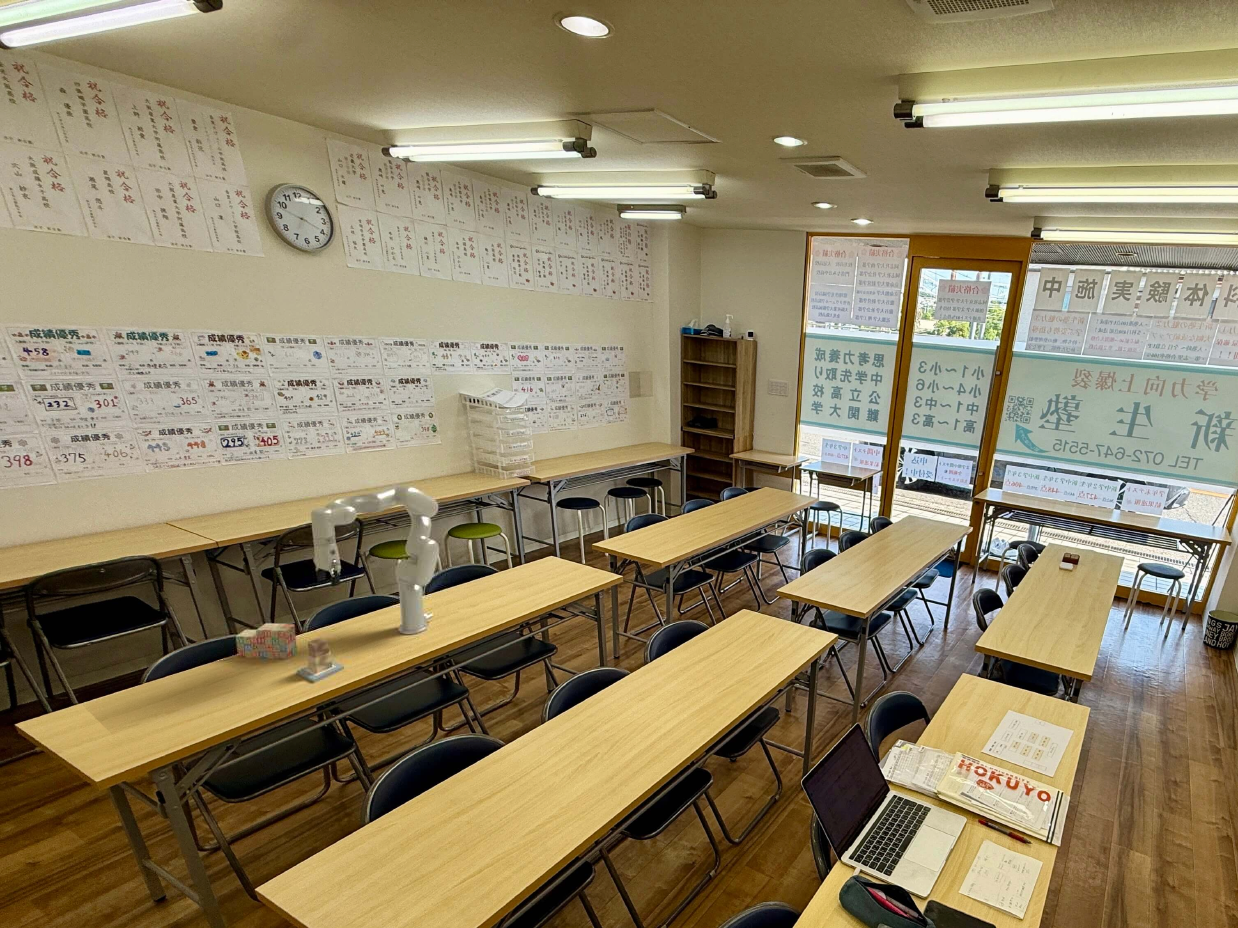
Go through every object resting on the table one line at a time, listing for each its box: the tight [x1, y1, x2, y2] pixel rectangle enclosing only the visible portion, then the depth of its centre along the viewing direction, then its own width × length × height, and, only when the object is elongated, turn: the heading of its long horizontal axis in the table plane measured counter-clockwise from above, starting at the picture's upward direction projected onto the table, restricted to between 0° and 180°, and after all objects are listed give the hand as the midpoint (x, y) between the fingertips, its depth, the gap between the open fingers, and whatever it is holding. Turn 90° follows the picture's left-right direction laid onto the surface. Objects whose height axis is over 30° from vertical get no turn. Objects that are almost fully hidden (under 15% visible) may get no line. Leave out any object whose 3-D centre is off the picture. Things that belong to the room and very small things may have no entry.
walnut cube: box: [307, 636, 330, 658], centre depth 222 cm, size 5×5×5 cm
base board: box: [296, 659, 345, 684], centre depth 223 cm, size 12×12×1 cm
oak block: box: [307, 651, 333, 674], centre depth 223 cm, size 6×6×6 cm
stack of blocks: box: [235, 623, 298, 660], centre depth 236 cm, size 21×6×12 cm, turn 86°
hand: (328, 582), depth 224 cm, fingers open, 9 cm apart
